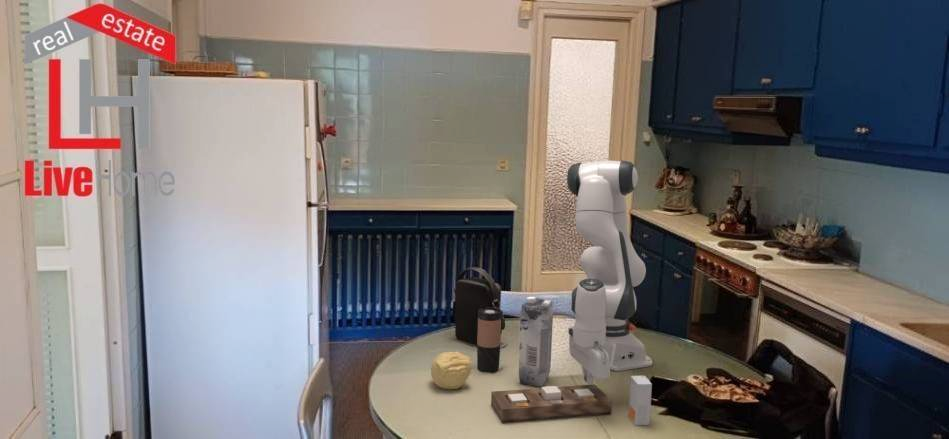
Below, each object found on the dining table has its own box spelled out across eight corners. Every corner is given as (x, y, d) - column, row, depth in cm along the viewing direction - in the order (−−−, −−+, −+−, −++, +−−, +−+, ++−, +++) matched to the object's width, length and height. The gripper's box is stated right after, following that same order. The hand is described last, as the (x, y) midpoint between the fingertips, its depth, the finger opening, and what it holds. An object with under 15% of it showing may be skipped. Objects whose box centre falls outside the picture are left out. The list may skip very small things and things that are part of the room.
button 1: (522, 403, 195) (522, 393, 194) (526, 409, 190) (527, 399, 190) (507, 404, 194) (507, 394, 193) (511, 411, 189) (512, 400, 189)
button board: (594, 396, 204) (595, 383, 203) (611, 414, 192) (612, 399, 192) (491, 404, 197) (491, 390, 196) (502, 423, 185) (502, 408, 184)
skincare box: (627, 415, 192) (630, 375, 190) (642, 415, 192) (645, 375, 190) (634, 425, 186) (637, 383, 184) (649, 425, 186) (652, 383, 184)
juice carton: (551, 376, 219) (555, 295, 214) (544, 389, 209) (547, 304, 205) (524, 372, 222) (528, 292, 217) (516, 384, 212) (519, 300, 207)
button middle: (555, 395, 197) (556, 386, 196) (560, 402, 192) (561, 392, 192) (541, 396, 196) (541, 387, 195) (546, 403, 191) (546, 393, 191)
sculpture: (441, 395, 202) (441, 361, 200) (425, 381, 213) (425, 348, 211) (475, 389, 207) (476, 355, 206) (457, 375, 218) (458, 343, 216)
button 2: (587, 398, 199) (588, 388, 199) (593, 404, 195) (594, 394, 195) (573, 399, 198) (574, 389, 198) (579, 405, 194) (579, 395, 194)
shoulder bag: (443, 337, 254) (445, 264, 249) (459, 331, 261) (461, 260, 256) (492, 352, 240) (494, 274, 235) (507, 345, 247) (509, 270, 242)
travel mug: (497, 374, 219) (499, 314, 216) (474, 372, 221) (475, 312, 218) (501, 365, 227) (503, 308, 224) (478, 363, 228) (480, 306, 225)
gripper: (616, 348, 184) (614, 396, 187) (585, 324, 204) (584, 368, 206) (595, 350, 183) (593, 398, 185) (565, 326, 202) (564, 370, 205)
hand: (588, 382), depth 196 cm, fingers closed
